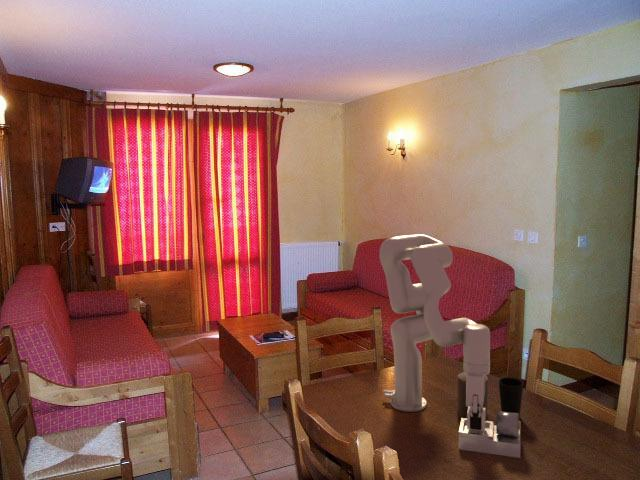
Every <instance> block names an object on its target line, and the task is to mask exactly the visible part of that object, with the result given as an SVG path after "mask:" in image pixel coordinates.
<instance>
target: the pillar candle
mask: <svg viewBox="0 0 640 480" xmlns="http://www.w3.org/2000/svg"><path fill="white" fill-rule="evenodd" d="M466 377H467V373H465V372H464V371H462V372H461V373H459V374H458V375H457V399H456V400H457V401H456V402H457V404H456V405H457V406H456V407H457V408H456V414H457V417H458V418H459V419H460V420H461V418H467V411H468V407H467V406H466ZM488 382H489V379H488V376H487V375H485V396H484V403H483V408H486V416H485V421H487V420H488V391H489V390H488V389H489V383H488Z"/></svg>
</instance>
